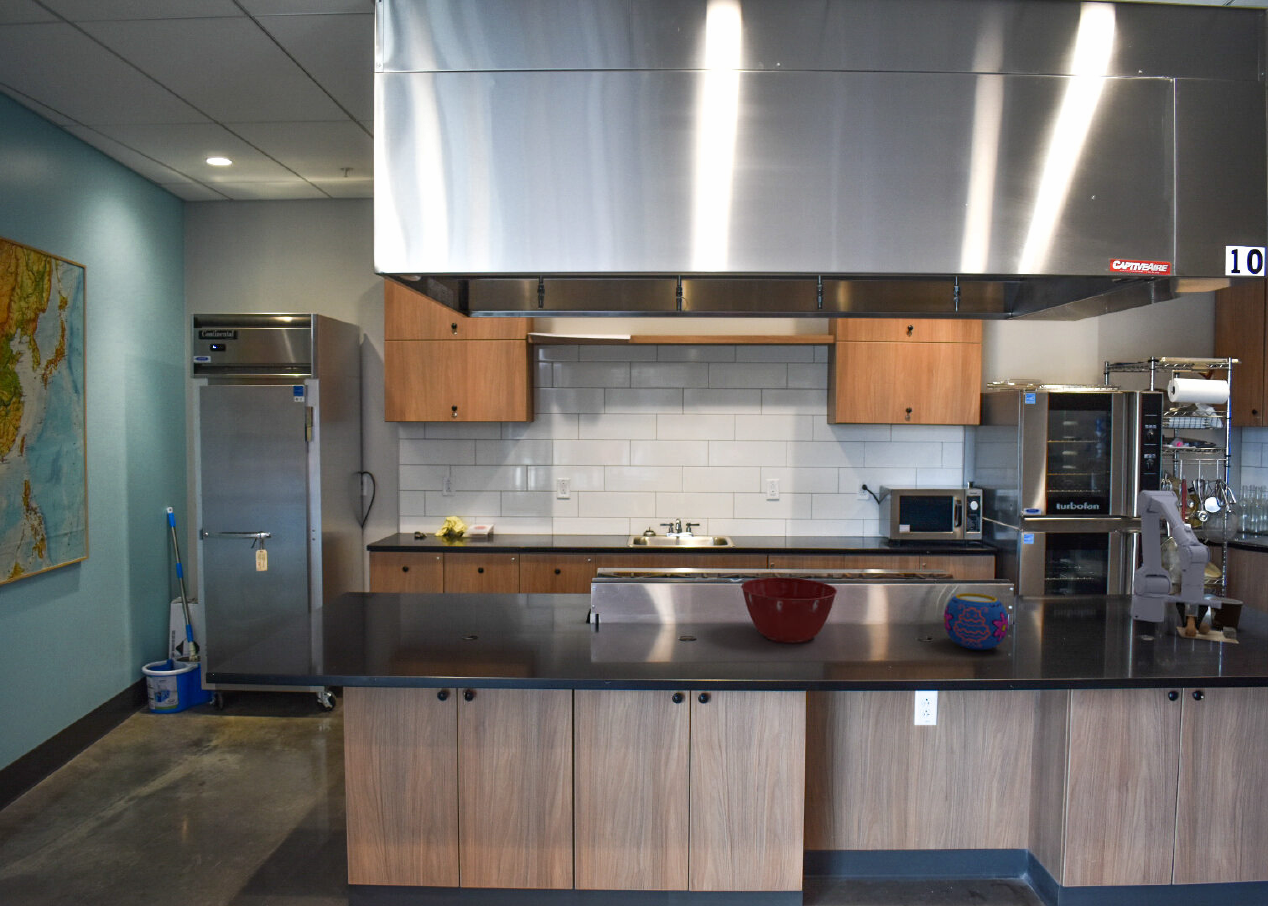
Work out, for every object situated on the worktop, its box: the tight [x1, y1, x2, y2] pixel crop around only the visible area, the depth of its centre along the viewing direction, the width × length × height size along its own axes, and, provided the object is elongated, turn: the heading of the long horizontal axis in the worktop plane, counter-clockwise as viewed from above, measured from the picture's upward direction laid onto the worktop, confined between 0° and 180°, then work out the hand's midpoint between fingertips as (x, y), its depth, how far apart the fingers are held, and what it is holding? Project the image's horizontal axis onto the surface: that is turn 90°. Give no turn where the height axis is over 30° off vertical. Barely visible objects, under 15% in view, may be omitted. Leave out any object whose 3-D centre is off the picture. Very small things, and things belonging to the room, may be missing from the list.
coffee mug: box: [1209, 597, 1243, 631], centre depth 263 cm, size 12×9×10 cm
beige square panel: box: [1176, 626, 1240, 644], centre depth 254 cm, size 14×14×3 cm
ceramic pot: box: [943, 592, 1010, 651], centre depth 240 cm, size 18×18×15 cm
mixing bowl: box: [740, 577, 838, 644], centre depth 248 cm, size 28×28×15 cm
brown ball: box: [1197, 621, 1211, 634], centre depth 255 cm, size 4×4×4 cm
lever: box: [1185, 614, 1198, 637], centre depth 256 cm, size 14×3×6 cm, turn 147°
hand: (1190, 628), depth 251 cm, fingers closed on lever, 3 cm apart
